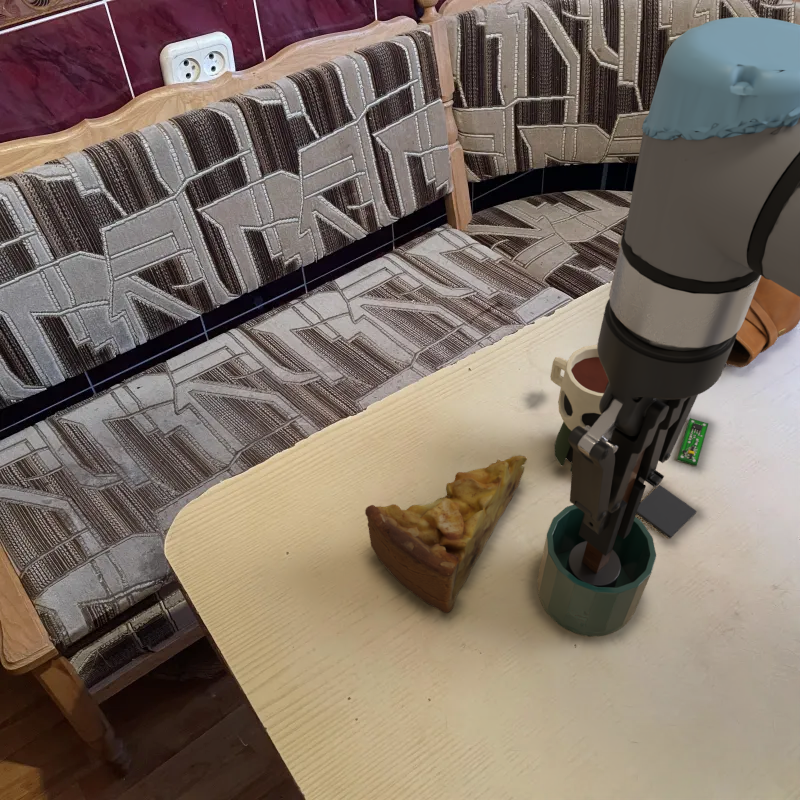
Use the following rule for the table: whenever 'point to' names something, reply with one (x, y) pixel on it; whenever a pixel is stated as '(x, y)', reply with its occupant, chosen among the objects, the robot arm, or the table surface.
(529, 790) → the table surface
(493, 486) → the pie slice
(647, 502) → the mat
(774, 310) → the boot
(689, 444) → the green pcb module
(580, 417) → the character mug
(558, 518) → the cup
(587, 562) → the brown post with base
